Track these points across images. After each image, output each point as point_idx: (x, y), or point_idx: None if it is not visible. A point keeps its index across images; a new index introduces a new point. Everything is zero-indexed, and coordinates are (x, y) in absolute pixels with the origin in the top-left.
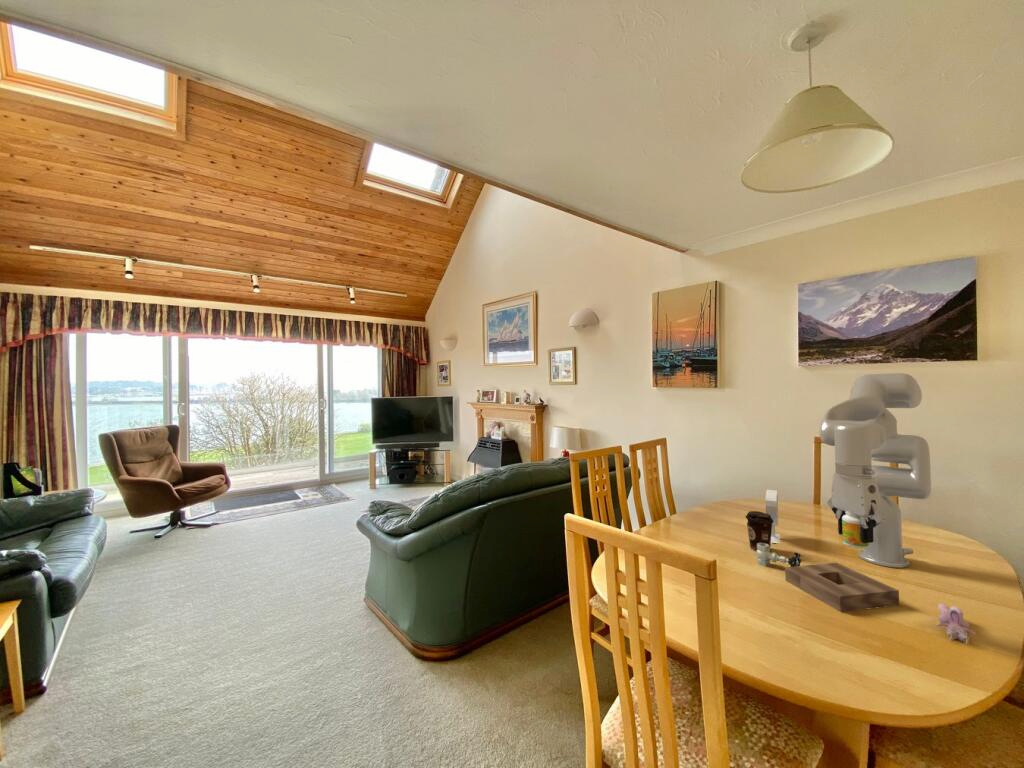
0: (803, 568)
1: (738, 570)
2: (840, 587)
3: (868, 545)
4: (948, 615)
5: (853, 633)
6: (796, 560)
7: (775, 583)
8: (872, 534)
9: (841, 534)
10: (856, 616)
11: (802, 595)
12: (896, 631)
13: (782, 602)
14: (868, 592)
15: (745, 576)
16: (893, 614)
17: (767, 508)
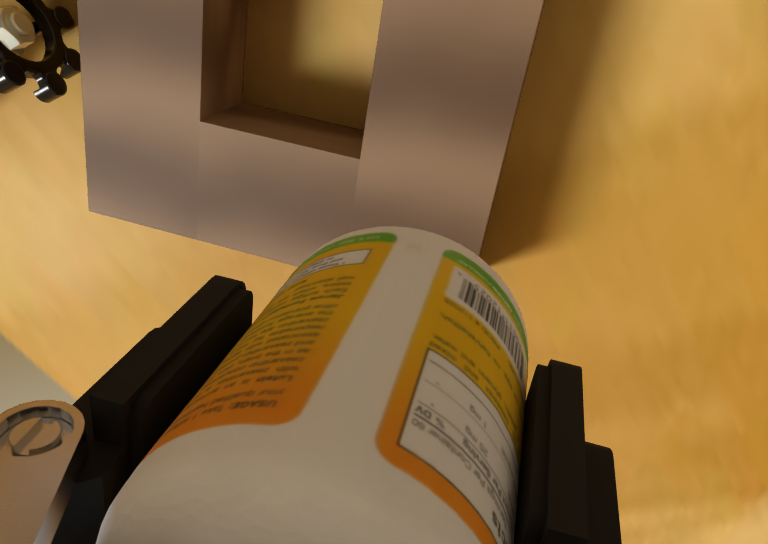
0: (119, 122)
1: (8, 290)
2: (388, 189)
3: (523, 328)
4: None
5: (620, 412)
6: (23, 75)
7: (157, 262)
8: (613, 518)
9: None
10: (539, 246)
11: (291, 267)
12: (727, 224)
13: None
14: (506, 95)
15: (70, 318)
16: (630, 22)
17: None
